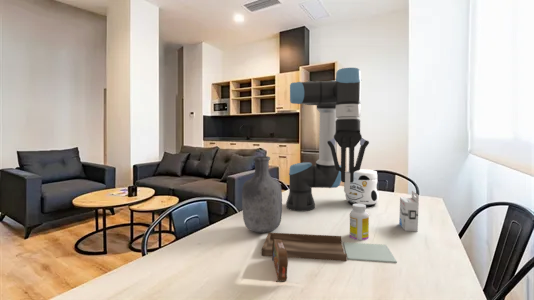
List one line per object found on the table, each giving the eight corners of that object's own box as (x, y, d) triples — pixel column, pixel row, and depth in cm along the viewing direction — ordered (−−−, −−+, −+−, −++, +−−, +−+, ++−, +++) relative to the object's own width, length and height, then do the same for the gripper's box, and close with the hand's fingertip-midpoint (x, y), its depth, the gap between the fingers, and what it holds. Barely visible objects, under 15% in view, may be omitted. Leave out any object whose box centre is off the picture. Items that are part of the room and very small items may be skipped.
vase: (287, 226, 115) (287, 155, 113) (272, 240, 100) (271, 159, 98) (254, 221, 121) (253, 154, 119) (235, 234, 107) (233, 158, 105)
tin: (271, 260, 85) (271, 234, 84) (281, 260, 85) (281, 234, 85) (277, 288, 70) (276, 256, 69) (289, 288, 70) (289, 256, 70)
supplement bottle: (368, 236, 103) (368, 203, 102) (368, 243, 97) (369, 208, 96) (349, 234, 105) (350, 202, 104) (349, 241, 99) (349, 206, 98)
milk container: (345, 206, 144) (345, 173, 143) (345, 198, 160) (345, 168, 159) (380, 209, 139) (381, 174, 138) (377, 200, 155) (377, 169, 154)
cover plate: (343, 247, 95) (343, 242, 95) (386, 250, 93) (386, 244, 92) (347, 264, 83) (347, 258, 83) (396, 268, 81) (396, 261, 81)
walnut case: (268, 240, 101) (268, 232, 100) (341, 244, 97) (341, 236, 96) (261, 258, 86) (261, 249, 86) (346, 264, 82) (346, 254, 82)
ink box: (398, 223, 117) (399, 189, 116) (411, 224, 116) (412, 190, 115) (404, 231, 109) (405, 194, 108) (418, 231, 108) (419, 195, 107)
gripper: (327, 118, 84) (327, 194, 85) (372, 117, 82) (370, 195, 83) (326, 119, 91) (325, 189, 93) (366, 118, 89) (365, 190, 91)
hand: (347, 192), depth 88 cm, fingers closed
